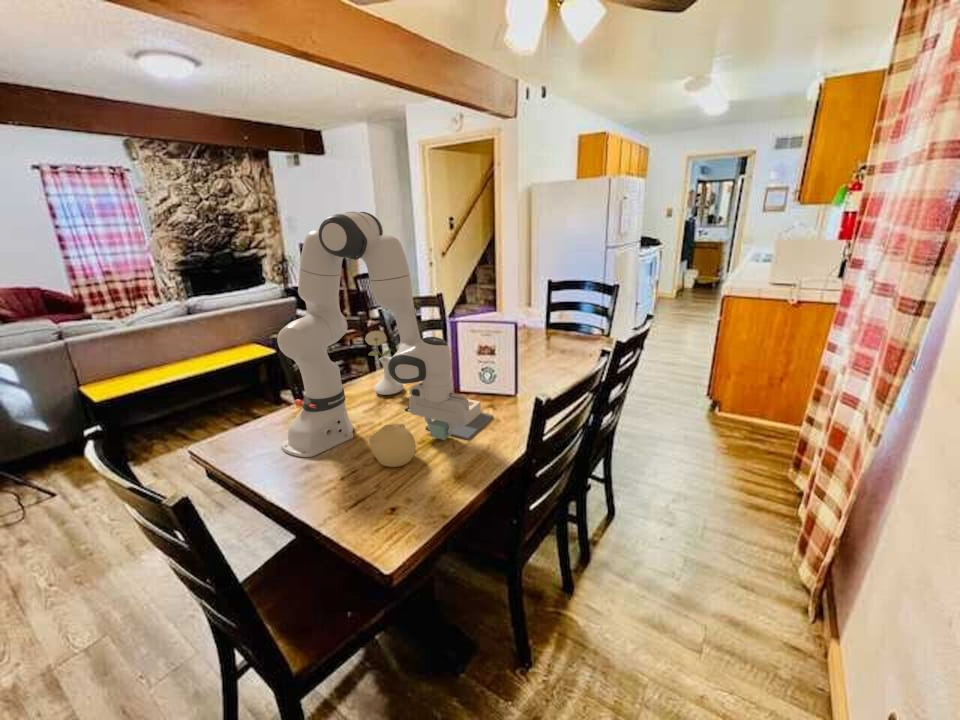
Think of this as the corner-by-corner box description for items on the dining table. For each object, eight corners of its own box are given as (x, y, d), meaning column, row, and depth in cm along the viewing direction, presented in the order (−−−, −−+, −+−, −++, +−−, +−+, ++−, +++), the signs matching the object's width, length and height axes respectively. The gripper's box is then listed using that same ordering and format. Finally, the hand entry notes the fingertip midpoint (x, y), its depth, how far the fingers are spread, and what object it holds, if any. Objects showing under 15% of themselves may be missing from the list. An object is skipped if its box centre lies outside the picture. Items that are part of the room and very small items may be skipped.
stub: (444, 440, 133) (443, 426, 131) (430, 436, 135) (429, 423, 134) (451, 434, 136) (450, 421, 135) (438, 430, 138) (437, 418, 137)
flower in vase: (406, 386, 177) (401, 326, 169) (399, 397, 166) (393, 334, 158) (375, 385, 178) (368, 326, 170) (366, 397, 168) (358, 334, 159)
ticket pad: (468, 440, 135) (467, 424, 133) (425, 429, 142) (424, 414, 140) (493, 417, 149) (492, 403, 147) (453, 408, 156) (452, 395, 154)
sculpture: (397, 445, 133) (393, 413, 129) (424, 458, 125) (421, 424, 122) (366, 462, 124) (361, 428, 121) (393, 477, 117) (389, 441, 114)
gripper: (473, 392, 128) (475, 434, 133) (417, 381, 138) (420, 421, 142) (462, 400, 123) (464, 444, 128) (404, 388, 133) (408, 429, 137)
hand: (440, 431), depth 135 cm, fingers closed on stub, 5 cm apart
